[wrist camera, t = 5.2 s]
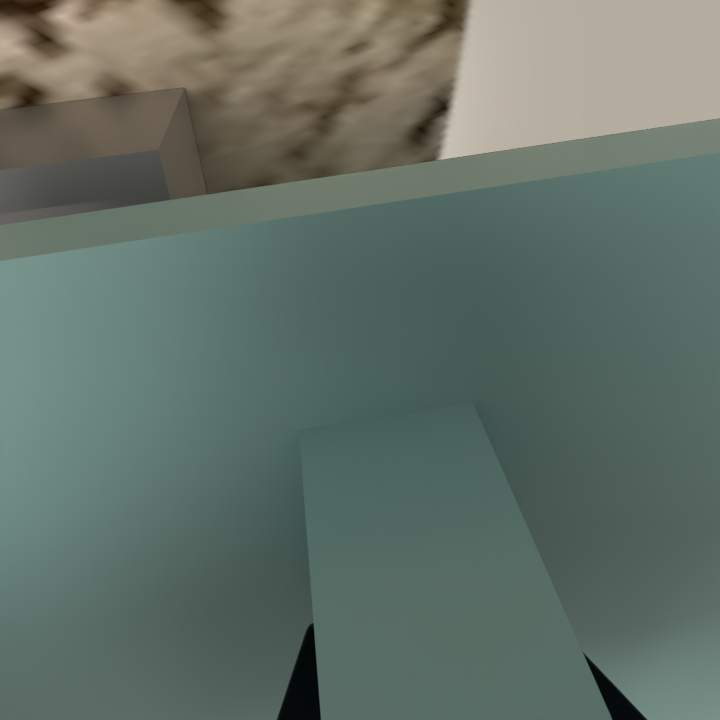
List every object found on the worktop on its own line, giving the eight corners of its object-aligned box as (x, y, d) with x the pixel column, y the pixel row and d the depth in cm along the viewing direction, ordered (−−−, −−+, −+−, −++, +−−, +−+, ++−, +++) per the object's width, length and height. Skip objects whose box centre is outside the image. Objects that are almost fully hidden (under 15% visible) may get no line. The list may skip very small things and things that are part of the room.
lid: (734, 621, 14) (988, 995, 9) (65, 742, 14) (-44, 1209, 9) (907, 63, 8) (1873, 280, 3) (-269, 236, 8) (-1227, 811, 3)
